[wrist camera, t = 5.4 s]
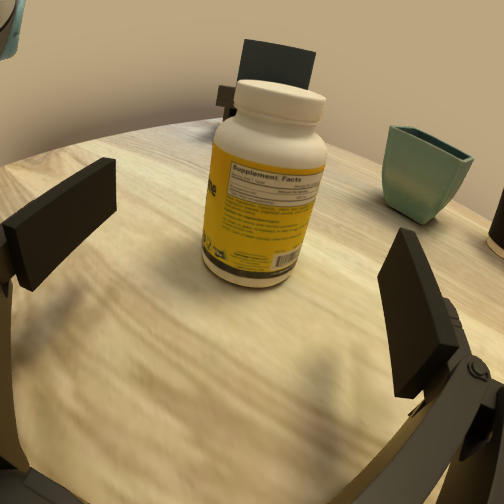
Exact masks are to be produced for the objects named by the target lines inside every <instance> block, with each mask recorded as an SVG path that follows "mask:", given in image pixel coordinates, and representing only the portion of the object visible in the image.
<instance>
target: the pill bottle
mask: <svg viewBox="0 0 504 504" xmlns="http://www.w3.org/2000/svg"><path fill="white" fill-rule="evenodd" d="M234 102H235V103H234V107H235V108H237V113H236V115H235V116H234V117H230V118H228V119H226V120H225V121H223V122H222V123H221V124H220V125H219V126H218V128H217V130H216V132H215V135H214V140H213V147H212V156H211V164H210V173H209V180H208V189H207V197H206V205H205V214H204V225H203V234H202V247H201V252H202V257H203V260H204V262H205V263H206V265H207V266H208V267H209V269H210V270H211V271H213V272H214V273H215V274H216V275H218V276H219V277H221V278H223V279H225V280H227V281H229V282H232V283H234V284H237V285H241V286H247V287H268V286H272V285H275V284H278V283H280V282H282V281H284V280H285V279H286V278H287V277H288V276H289V275H290V274H291V273H292V271H293V270H294V267H295V265H296V262H297V259H298V256H299V253H300V249H301V246H302V243H303V239H304V236H305V233H306V229H307V226H308V223H309V219H310V216H311V212H312V209H313V206H314V202H315V198H316V195H317V192H318V188H319V185H320V181H321V178H322V174H323V171H324V167H325V163H326V158H327V149H326V145H325V143H324V141H323V140H322V139H321V137H320V136H319V135H318V134H316V133H315V126H316V125H317V124H320V123H321V119H322V117H323V113H324V109H325V105H326V98H325V97H323V96H321V95H319V94H317V93H314V92H311V91H308V90H305V89H301V88H297V87H293V86H289V85H284V84H279V83H274V82H267V81H259V80H239V81H238V82H237V85H236V91H235V96H234Z"/></svg>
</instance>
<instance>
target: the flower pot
mask: <svg viewBox="0 0 504 504" xmlns="http://www.w3.org/2000/svg"><path fill="white" fill-rule="evenodd" d="M473 161H474V158H473V157H472V156H470V155H468V154H466V153H464V152H462V151H461V150H459V149H457V148H455V147H453V146H451V145H449V144H447V143H445V142H443V141H441V140H439V139H437V138H435V137H433V136H431V135H429V134H427V133H425V132H423V131H421V130H419V129H416V128H414V127H405V126H393V125H392V126H390V127H389V133H388V139H387V144H386V149H385V155H384V160H383V167H382V187H383V193H384V197H385V201H386V204H387V205H389V206H390V207H392V208H394V209H396V210H398V211H399V212H401V213H403V214H405V215H406V216H408V217H410V218H411V219H413V220H415V221H416V222H418V223H420V224H425V223H427V222H428V221H429V220H430V219H432V218H433V217H434V216H435V215H436V214H437V213H438V212H439V211H440V210H442V209H443V208H444V207H445V206H446V205H447V204H448V203H449V202H450V200H451V199H452V198H453V197H454V195H455V194H456V192H457V191H458V189H459V187H460V186H461V184H462V182H463V180H464V178H465V176H466V174H467V172H468V171H469V169H470V167H471V165H472V162H473Z"/></svg>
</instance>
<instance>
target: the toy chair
mask: <svg viewBox="0 0 504 504" xmlns="http://www.w3.org/2000/svg"><path fill="white" fill-rule="evenodd" d="M315 56H316V52H313V51H308V50H304V49H299V48H295V47H289V46H285V45H279V44H273V43H268V42H262V41H255V40H249V39H245V40H244V45H243V50H242V56H241V61H240V66H239V73H238V78H237V82H238V81H239V80H259V81H267V82H274V83H279V84H284V85H289V86H293V87H297V88H301V89H305V90H308V87H309V82H310V78H311V74H312V69H313V65H314V60H315ZM236 85H237V84H236ZM235 91H236V87H230V86H223V85H220V86H219V88H218V95H217V100H216V106H221V107H225V109H224V116H223V121H225V120H226V119H228V118H230V117H234V116H235V115H236V113H237V108H235V107H234V103H235V102H234V96H235Z"/></svg>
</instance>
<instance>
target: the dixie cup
mask: <svg viewBox="0 0 504 504" xmlns="http://www.w3.org/2000/svg"><path fill="white" fill-rule="evenodd" d="M488 234H489V237H488V239H487V244H488V246H489V247H490V248H491V249H492V250H493V251H494V252H495V253H496V254H498V255H499V256H500V257H502V258H503V259H504V189H503V192H502V196H501V199H500V201H499V204H498V208H497V210H496V213H495V216H494V219H493V222H492V224H491V227H490V230H489V233H488Z"/></svg>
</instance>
